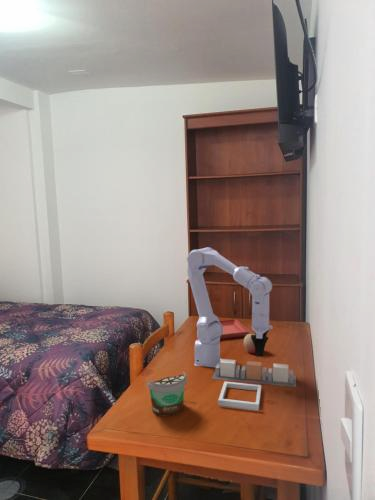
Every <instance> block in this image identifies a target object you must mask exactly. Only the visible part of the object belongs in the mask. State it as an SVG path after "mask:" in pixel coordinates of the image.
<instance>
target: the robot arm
mask: <svg viewBox="0 0 375 500" xmlns="http://www.w3.org/2000/svg"><path fill="white" fill-rule="evenodd" d="M186 260H187V270H186V271H187V276H188V280H189V285H190V288H191V292H192V296H193V299H194V303H195V306H196V310H197V313H198V320H197V322H196V329H197V330H196V335H197V339H196V340H195V342H194V349H193V350H194V366H196V367H197V366H199V367H208V368H216V365H217V363H219V364H220V361H221V359H222V358H221V343H220V342H221V339H220V336H221V335H222V333H223V327H222V325H221V323H220V322H219V321H220V320H219V317H218V315H216V314H214V312H213V307H212V305H211V301H210V297H209V296H210V295H209V293H208V290H207V289H208V288H207V286H206V282H205V277H204V273H205V271H206V269H207V268H208V267H209V266H215V267H218V268H219V269H221V270H223V271H224V272H225V273H226V272H227V273H228V274H230V275H232V278H233V280H234V281H235V282H236V283H238V284H240V286H243V287H244V288H245V289H247V290H248V291H249V294H250V295H251V297H252V298H251V299H252V301H251V306H252V307H251V329H252V330H253V332H254V334H255V335H251V339H252V341H253V343H254V346H255V352H256V354H255V355H256V357H263V356H264V354H265V353H264V352H265V347H266V344H267V342H268V340H269V336H267V334H268V332H269V330H273V325H271V324H270V292H271V291H272V290H273V283H272V281H271V280H270V279H269V278H268V277H267V276H261V275H260V274H256V273H254V272H253V271H251V270H249V269H250V268H249V267H248V266H243V265H242V266H237V265H236V264H234V263H232V262H231V261H230V260H228V259H227V258H226V257H224V256H223V255H221V254H220V253H219V252H218V251H217V250H215V249H213V248H212V247H207V246H206V247H204V248H199V249H192V250H190V252H189V253H188V255H187V256H186Z"/></svg>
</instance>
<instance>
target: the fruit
mask: <svg viewBox="0 0 375 500" xmlns="http://www.w3.org/2000/svg"><path fill="white" fill-rule="evenodd" d="M251 335H255V333H254V334H253V333H248V334H247V335H245V336H244V338H243V346H244V349H245V350H246V351H247V352H248V353H249V354H253V355H256V352H255V346H254V343H253V341H252V339H251Z"/></svg>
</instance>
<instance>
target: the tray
mask: <svg viewBox="0 0 375 500" xmlns="http://www.w3.org/2000/svg"><path fill="white" fill-rule="evenodd" d="M227 388H230V389H239V390H240V389H241V390H246V391H247V390H249V391H256V396H255V398H256V399H255V402H254V401H253V402H252V401H245V400H237V399H229V398H228V399H227V398H225V395H226V392H227ZM261 394H262V384H255V383H245V382H236V381H226V380H224V381H223V385H222V388H221V390H220V394H219V397H218V399H217V404H218V405H217V406H218V407H223V408H231V409H236V410H237V409H239V410H246V411H256V412H259V411H260V404H261Z"/></svg>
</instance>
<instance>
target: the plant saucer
mask: <svg viewBox="0 0 375 500" xmlns="http://www.w3.org/2000/svg"><path fill="white" fill-rule="evenodd" d="M219 322H220V323H221V325H222V327H223V333H222V335H221V336H220V340H223V339H231V338H241V337H245V336H246V335H247V334H250V330H249V329H248V328H247V327H245V325H243V324H242V323H241V322H239V321H238V320H237V319H236V318H233V319H222V320H219Z"/></svg>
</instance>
